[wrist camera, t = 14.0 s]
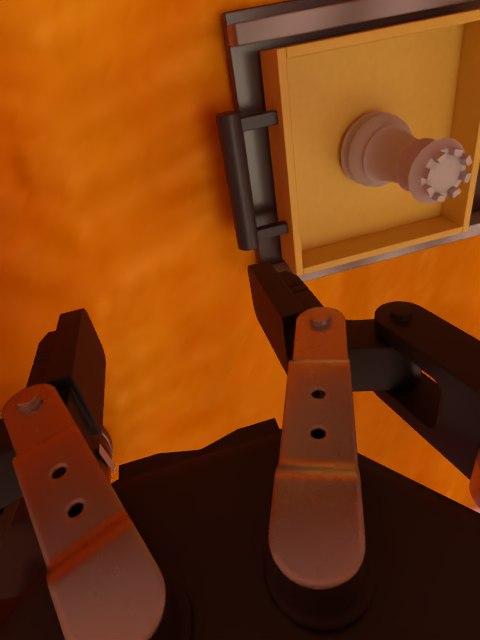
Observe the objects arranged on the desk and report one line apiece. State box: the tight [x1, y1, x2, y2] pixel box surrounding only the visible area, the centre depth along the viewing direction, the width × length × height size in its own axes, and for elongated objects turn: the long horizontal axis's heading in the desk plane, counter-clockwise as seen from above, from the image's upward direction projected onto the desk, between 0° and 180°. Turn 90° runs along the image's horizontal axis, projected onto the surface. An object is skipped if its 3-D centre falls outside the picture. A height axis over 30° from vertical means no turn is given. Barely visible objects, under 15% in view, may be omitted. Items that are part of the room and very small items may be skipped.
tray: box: [216, 8, 480, 276], centre depth 26 cm, size 16×13×3 cm
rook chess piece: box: [341, 111, 472, 204], centre depth 23 cm, size 4×4×8 cm
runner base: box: [221, 0, 480, 282], centre depth 28 cm, size 25×17×3 cm
